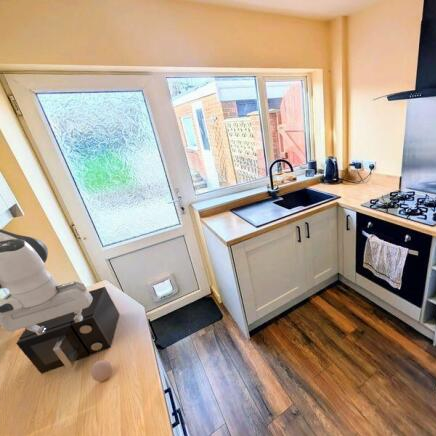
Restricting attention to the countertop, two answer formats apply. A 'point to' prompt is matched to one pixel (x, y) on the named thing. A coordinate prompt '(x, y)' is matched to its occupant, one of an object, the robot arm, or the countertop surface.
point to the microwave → (90, 322)
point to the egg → (101, 370)
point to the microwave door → (54, 348)
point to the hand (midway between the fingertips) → (61, 326)
